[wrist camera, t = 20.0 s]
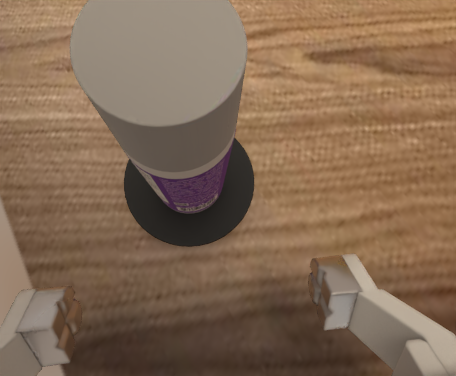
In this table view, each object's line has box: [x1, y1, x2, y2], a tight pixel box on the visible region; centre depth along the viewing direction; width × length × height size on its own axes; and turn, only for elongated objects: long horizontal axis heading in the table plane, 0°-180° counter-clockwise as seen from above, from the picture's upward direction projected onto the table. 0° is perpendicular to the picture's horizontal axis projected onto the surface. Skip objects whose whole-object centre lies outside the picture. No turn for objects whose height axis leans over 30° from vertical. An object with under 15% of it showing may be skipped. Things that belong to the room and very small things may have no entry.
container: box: [70, 0, 247, 214], centre depth 16 cm, size 5×5×15 cm
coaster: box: [124, 138, 254, 246], centre depth 23 cm, size 9×9×1 cm
